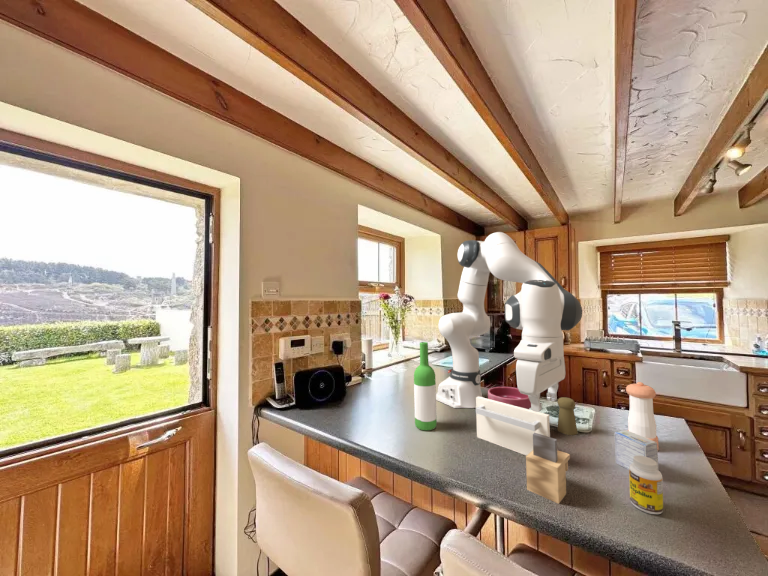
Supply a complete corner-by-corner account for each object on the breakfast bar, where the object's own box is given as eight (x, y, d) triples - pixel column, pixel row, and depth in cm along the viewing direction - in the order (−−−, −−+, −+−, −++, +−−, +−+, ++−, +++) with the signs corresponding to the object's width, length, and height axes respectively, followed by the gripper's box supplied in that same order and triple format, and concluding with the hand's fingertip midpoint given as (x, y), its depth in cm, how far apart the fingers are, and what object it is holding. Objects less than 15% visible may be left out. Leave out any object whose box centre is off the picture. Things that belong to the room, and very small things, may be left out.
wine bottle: (423, 420, 115) (421, 340, 115) (441, 426, 109) (439, 342, 110) (410, 427, 109) (408, 343, 110) (427, 433, 104) (425, 345, 104)
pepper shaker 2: (665, 450, 90) (662, 384, 90) (644, 453, 89) (642, 386, 89) (640, 438, 97) (638, 378, 97) (621, 441, 96) (618, 379, 96)
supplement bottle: (624, 502, 68) (622, 456, 69) (638, 495, 71) (637, 451, 71) (654, 519, 63) (653, 469, 63) (669, 511, 66) (667, 463, 66)
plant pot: (517, 419, 114) (516, 384, 114) (542, 436, 100) (541, 397, 100) (481, 422, 112) (480, 387, 112) (502, 441, 98) (501, 400, 98)
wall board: (471, 440, 98) (469, 400, 98) (482, 433, 103) (481, 395, 103) (543, 469, 82) (541, 420, 82) (553, 459, 87) (551, 412, 87)
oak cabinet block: (526, 489, 74) (525, 435, 74) (540, 475, 79) (538, 424, 80) (558, 503, 69) (556, 445, 69) (570, 487, 74) (569, 433, 74)
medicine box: (659, 476, 78) (658, 442, 78) (647, 480, 76) (645, 445, 76) (627, 460, 85) (625, 429, 85) (615, 463, 84) (614, 431, 84)
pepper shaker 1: (580, 435, 100) (579, 401, 100) (560, 434, 101) (559, 401, 101) (573, 427, 106) (572, 395, 106) (554, 426, 107) (553, 395, 107)
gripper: (544, 340, 83) (546, 392, 82) (510, 351, 69) (512, 413, 69) (571, 343, 78) (573, 397, 78) (539, 355, 64) (542, 421, 64)
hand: (544, 405), depth 73 cm, fingers open, 8 cm apart
